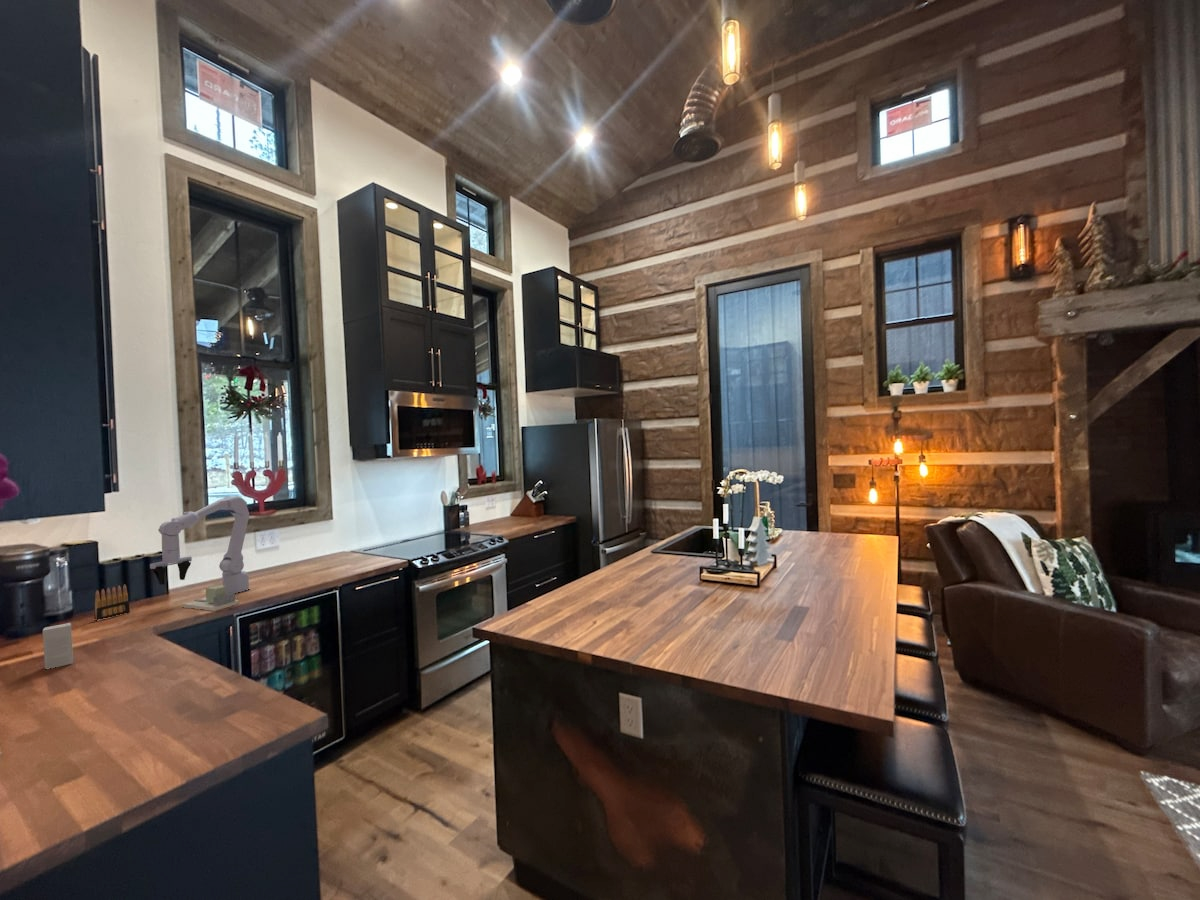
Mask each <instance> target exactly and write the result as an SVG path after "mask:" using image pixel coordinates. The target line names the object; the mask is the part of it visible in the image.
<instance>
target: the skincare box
mask: <svg viewBox="0 0 1200 900" xmlns="http://www.w3.org/2000/svg"><path fill="white" fill-rule="evenodd" d="M42 642H43V643H42V644H43V658H44V670H45V669H47V670H51V669H55V667H56V668H59V667H63V666H64V667H65V666H67V665H73V664H74V650H73V635H72V623H71V622H67V623H63V624H58V625H52V626H51V625H50V626H46V627H44V628H43V629H42ZM50 668H51V669H50Z"/></svg>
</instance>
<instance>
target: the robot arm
mask: <svg viewBox="0 0 1200 900" xmlns="http://www.w3.org/2000/svg"><path fill="white" fill-rule="evenodd" d="M247 504H248V502H247V501H246V500H245V499H244V498H242V497H240V496H224V497H223V498H220V499H217V500H215V501H214V502H212V503H210V504H208V505H206V506H204V507H202V508H200V509H199V510H197V511H185V512H183V514H182V515H179V516H178V517H173V518H170V519H171V520H170V521H167V520H166V521H165V522H163V523H161V524H160V526H159V528H158V532H159V534H160V535H161V552H162V554H161V555H162V556H161V557H162V559H161V560H162V561H157V562H153V563H150V564H149V569H151V571H152V573H153V574H154V575H155V576H156V578H157V581H158V583H159V585H165V584H166V583H165V579H166V577H165V576H166V575H165V574H166V568H165V567H168V566H173V565H177V567H178V572H179V573H178V575H179V580H180V581H185V579H186V576H187V572H188V570H189V568H190V566H191V564H192V563H191V562H192V559H193V558H192V556H184V557H181V552H180V535H179V534H180V533H181V532H182V531H184V530H186V529H188V528H189V527H191V526H193V525H196V524H197V523H198V522H199V520H200V519H201V518H204V517H206V516H208V515H210V514H213V513H216V512H218V511H222V510H223V511H227V512H229V513H230V514H231V515H232V516H233V517H234V522H233V525H232V531H231V534H230V539H229V543H228V548H227V552H226V553H225V554H224V555H223V558H222V560H221V561H220V563H219V565H218V566H219V569H220V571H221V572H222V573H221V574H222V575H221V576H222V586H225V590H226V594H228V593H236V594H239V593H238V592H240V593H243V592H246V591H245V590H247V591H249V590H248V589H250V583H249V582H250V581H249V575H248V572H247V571H245V570H243V569H244V567H245V564H244V556H243V553H242V552H243V551H242V550H243V548H244V547H243V545H244V541H245V537H246V533H247V528H248V523H249V519H250V512H249V509H248V506H247ZM242 591H243V592H242Z"/></svg>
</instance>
